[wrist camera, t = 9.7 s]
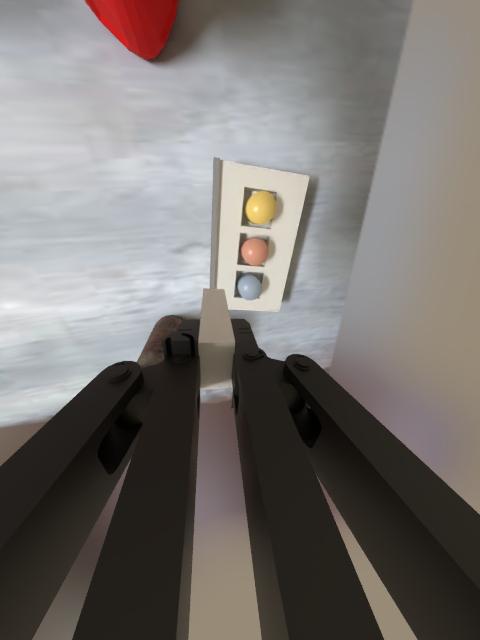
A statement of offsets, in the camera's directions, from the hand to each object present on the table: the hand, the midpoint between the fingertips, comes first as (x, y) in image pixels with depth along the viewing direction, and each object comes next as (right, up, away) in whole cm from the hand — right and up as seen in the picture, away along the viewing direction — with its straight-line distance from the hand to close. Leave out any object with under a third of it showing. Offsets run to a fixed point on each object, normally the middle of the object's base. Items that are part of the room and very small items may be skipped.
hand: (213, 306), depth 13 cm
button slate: (+3, +6, +21) cm, 22 cm away
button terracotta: (+4, +11, +18) cm, 22 cm away
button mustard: (+5, +17, +15) cm, 23 cm away
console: (+4, +13, +21) cm, 25 cm away
